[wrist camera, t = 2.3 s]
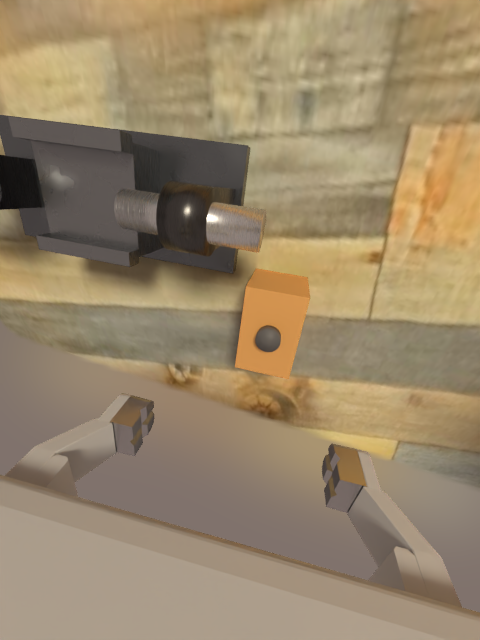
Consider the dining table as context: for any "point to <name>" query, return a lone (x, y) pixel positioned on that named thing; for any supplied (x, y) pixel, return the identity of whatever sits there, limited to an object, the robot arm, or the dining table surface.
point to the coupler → (272, 322)
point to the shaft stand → (128, 194)
